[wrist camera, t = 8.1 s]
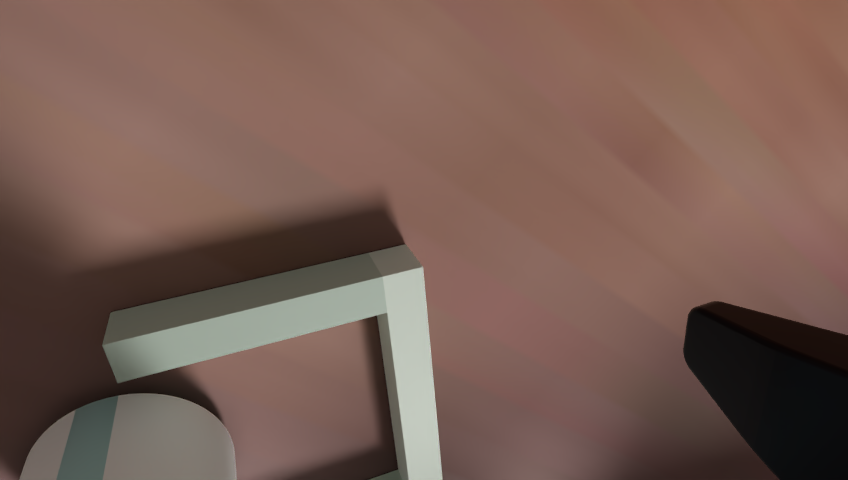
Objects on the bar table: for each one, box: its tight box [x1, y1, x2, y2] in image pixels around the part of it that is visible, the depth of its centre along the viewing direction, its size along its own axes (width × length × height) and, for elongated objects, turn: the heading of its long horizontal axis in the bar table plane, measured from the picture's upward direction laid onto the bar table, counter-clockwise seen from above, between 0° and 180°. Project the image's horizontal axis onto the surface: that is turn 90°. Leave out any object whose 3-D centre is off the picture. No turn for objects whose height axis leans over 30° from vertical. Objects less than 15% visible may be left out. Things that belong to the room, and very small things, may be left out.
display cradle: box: [102, 244, 443, 480], centre depth 23 cm, size 13×10×2 cm
